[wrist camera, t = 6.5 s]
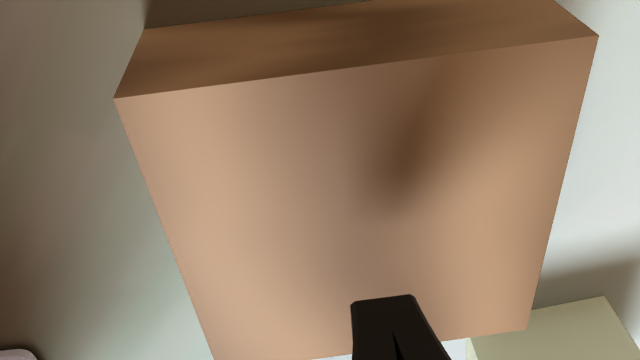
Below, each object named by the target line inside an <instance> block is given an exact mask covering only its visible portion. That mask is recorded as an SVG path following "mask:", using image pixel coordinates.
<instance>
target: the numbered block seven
mask: <svg viewBox="0 0 640 360" xmlns="http://www.w3.org/2000/svg"><path fill="white" fill-rule="evenodd" d="M465 344H466V360H640V350H639V348H638V347H637V345H636V343H635V342H634V340H633V339H632V337H631V336H630V334H629V333H628V331H627V330H626V328H625V327H624V325H623V324H622V322H621V321H620V319H619V317H618V316H617V314H616V313H615V311H614V310H613V308H612V307H611V305H610V304H609V302H608V301H607V299H606V298H605V296H599V297H594V298H589V299H584V300H579V301H574V302H569V303H564V304H559V305H554V306H549V307H544V308H539V309H534V310H531V313H530V317H529V321H528V325H527V329H526V330H520V331H512V332H505V333H498V334H491V335H484V336H476V337H469V338H465Z"/></svg>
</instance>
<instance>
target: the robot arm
mask: <svg viewBox="0 0 640 360" xmlns="http://www.w3.org/2000/svg"><path fill="white" fill-rule="evenodd" d="M350 312H351V326H352V340H353V349H352V360H451V358H450V357H449V355H448V354H447V352H446V351H445V349H444V347H443V346H442V344H441V343H440V341H439V339H438V338H437V336H436V335H435V333H434V331H433V330H432V328H431V326H430V325H429V323H428V321H427V319H426V317H425V316H424V314H423V312H422V310H421V308H420V306H419V304H418V302H417V300H416V298H415V297H414V296H413V295H411V294H406V295H398V296H390V297H382V298H375V299H367V300H359V301H354V302H353V303H352V304H351V305H350ZM0 360H37V359H36V357H35V356H34V355H33V354H32V353H31V352H30V351H28V350H24V349H12V350H4V351H0Z"/></svg>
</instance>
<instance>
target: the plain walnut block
mask: <svg viewBox="0 0 640 360" xmlns="http://www.w3.org/2000/svg"><path fill="white" fill-rule="evenodd" d="M598 37H599V35H598V34H597V33H595V32H594V31H593V30H591V29H590V28H589V27H588V26H586V25H585V24H584V23H582V22H581V21H580V20H578V19H577V18H576V17H574V16H573V15H572V14H571V13H569V12H568V11H567V10H565V9H564V8H563V7H561V6H560V5H559V4H557V3H556V2H555V1H554V0H371V1H363V2H355V3H347V4H340V5H332V6H324V7H316V8H308V9H300V10H292V11H285V12H277V13H269V14H261V15H253V16H245V17H237V18H230V19H222V20H214V21H206V22H198V23H190V24H183V25H175V26H167V27H159V28H151V29H144V30H143V32H142V35H141V37H140V39H139V41H138V44H137V46H136V48H135V50H134V53H133V55H132V57H131V59H130V62H129V64H128V66H127V68H126V71H125V73H124V75H123V77H122V80H121V82H120V84H119V86H118V89H117V91H116V93H115V95H114V98H113V100H114V103H115V105H116V108H117V111H118V113H119V116H120V118H121V121H122V124H123V126H124V129H125V131H126V134H127V136H128V139H129V142H130V144H131V147H132V149H133V152H134V154H135V157H136V160H137V162H138V165H139V167H140V170H141V173H142V175H143V178H144V180H145V183H146V185H147V188H148V191H149V193H150V196H151V198H152V201H153V203H154V206H155V209H156V211H157V214H158V216H159V219H160V222H161V224H162V227H163V229H164V232H165V234H166V237H167V240H168V242H169V245H170V247H171V250H172V252H173V255H174V258H175V260H176V263H177V265H178V268H179V271H180V273H181V276H182V278H183V281H184V283H185V286H186V289H187V291H188V294H189V296H190V299H191V301H192V304H193V307H194V309H195V312H196V314H197V317H198V319H199V322H200V325H201V327H202V330H203V332H204V335H205V338H206V340H207V343H208V345H209V348H210V350H211V353H212V356H213V358H214V360H311V359H318V358H326V357H333V356H340V355H347V354H352V349H353V340H352V326H351V312H350V305H351V304H352V303H353V302H354V301H359V300H367V299H375V298H382V297H390V296H398V295H406V294H411V295H413V296H414V297H415V298H416V300H417V302H418V304H419V306H420V308H421V310H422V312H423V314H424V316H425V317H426V319H427V321H428V323H429V325H430V326H431V328H432V330H433V331H434V333H435V335H436V336H437V338H438V339H439V341H440V342H441V341H448V340H455V339H462V338H469V337H476V336H484V335H491V334H498V333H505V332H512V331H520V330H526V329H527V325H528V321H529V317H530V313H531V309H532V305H533V301H534V296H535V292H536V288H537V284H538V280H539V276H540V272H541V268H542V264H543V260H544V256H545V252H546V248H547V244H548V240H549V236H550V232H551V228H552V224H553V219H554V215H555V211H556V207H557V203H558V199H559V195H560V191H561V187H562V183H563V179H564V175H565V171H566V167H567V163H568V159H569V155H570V151H571V147H572V143H573V138H574V134H575V130H576V126H577V122H578V118H579V114H580V110H581V106H582V102H583V98H584V94H585V90H586V86H587V82H588V78H589V74H590V70H591V66H592V61H593V57H594V53H595V49H596V45H597V41H598Z"/></svg>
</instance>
